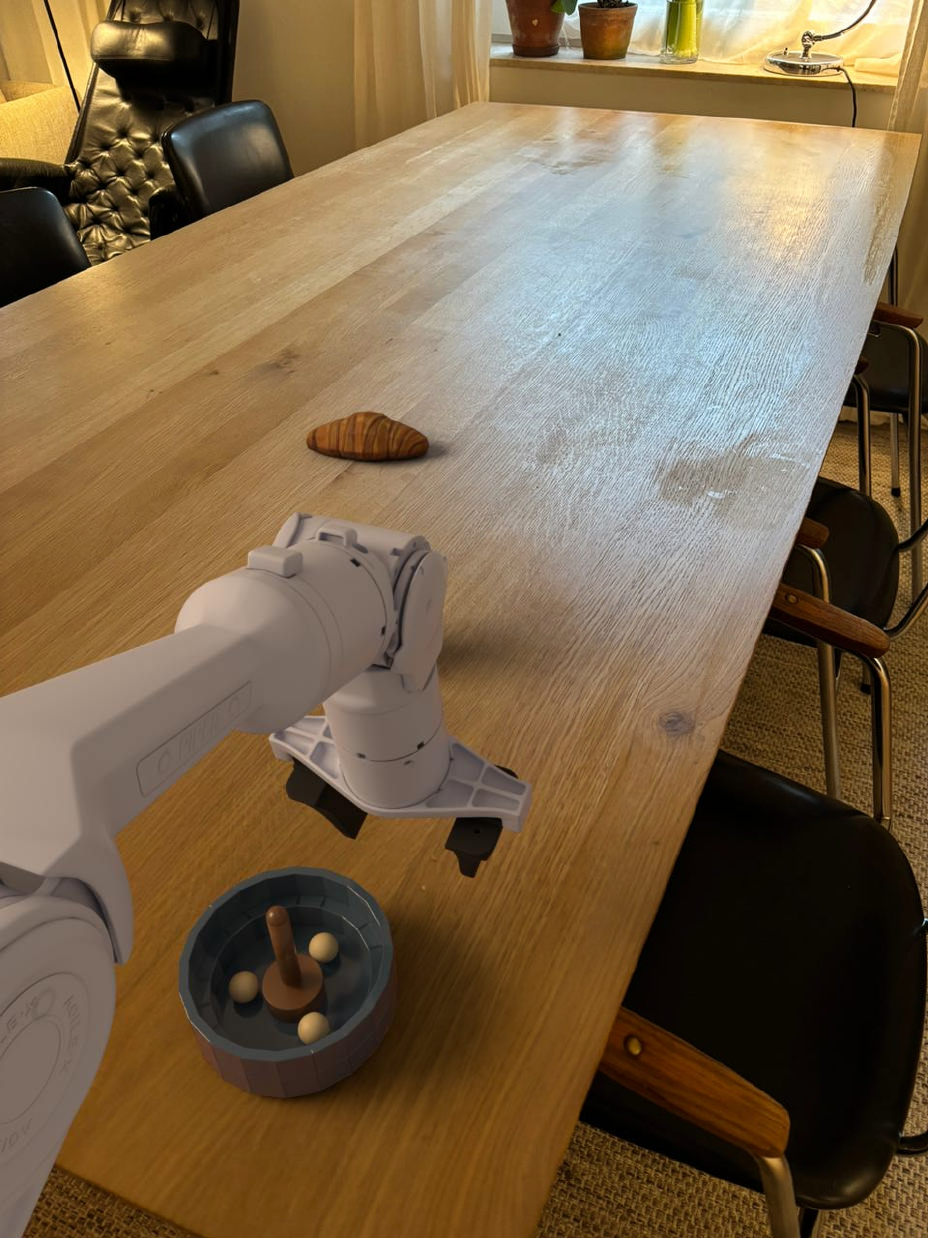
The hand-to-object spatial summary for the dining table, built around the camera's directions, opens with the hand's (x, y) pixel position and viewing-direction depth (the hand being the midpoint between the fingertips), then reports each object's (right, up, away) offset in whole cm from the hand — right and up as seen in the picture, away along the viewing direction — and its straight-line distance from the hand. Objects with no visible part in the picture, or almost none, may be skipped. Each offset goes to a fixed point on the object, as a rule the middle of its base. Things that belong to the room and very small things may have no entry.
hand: (414, 842), depth 60 cm
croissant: (-8, +31, +49) cm, 58 cm away
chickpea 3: (-6, -10, -2) cm, 12 cm away
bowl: (-7, -10, +1) cm, 12 cm away
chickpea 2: (-6, -7, +2) cm, 9 cm away
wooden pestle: (-7, -9, 0) cm, 12 cm away
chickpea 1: (-10, -9, 0) cm, 13 cm away
